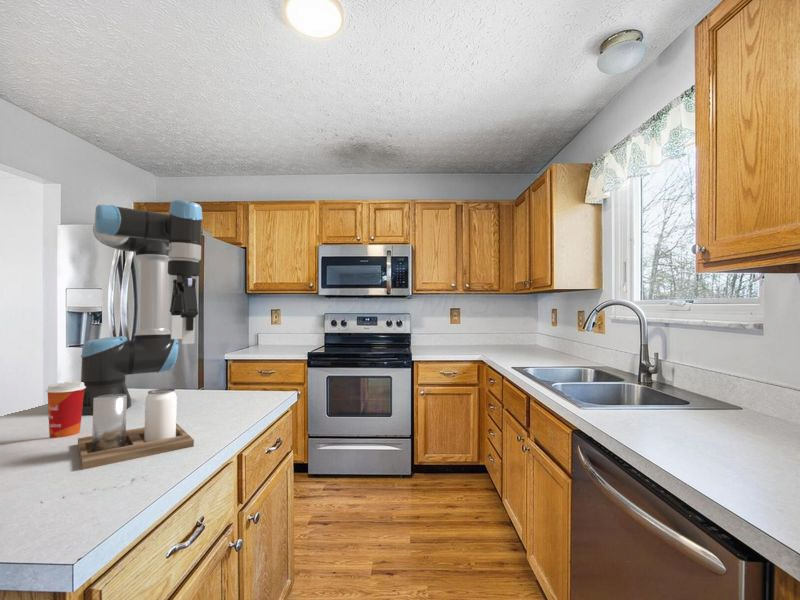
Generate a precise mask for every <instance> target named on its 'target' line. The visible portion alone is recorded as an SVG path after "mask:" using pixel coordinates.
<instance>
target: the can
mask: <svg viewBox="0 0 800 600" xmlns="http://www.w3.org/2000/svg"><path fill="white" fill-rule="evenodd" d="M175 391H176V389H175V388H157V389H151V390H149V391H147V396H146V398H145V403H144V405H145V407H144V408H145V409H144V427H145V434H144V441H145V442H151V441H156V440H161V439H166V438H172V437H176V423H177V407H178V406H177V405H178V402H177V401H178V397H177V394H176V392H175Z"/></svg>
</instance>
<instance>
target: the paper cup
mask: <svg viewBox="0 0 800 600" xmlns="http://www.w3.org/2000/svg"><path fill="white" fill-rule="evenodd" d="M85 388H86V386H85V385H84V382H81V381H71V382H70V381H65V382H56V383H52V384H49V385H48V387H47V389H46V391H45V392H46V393H47V409H48V411H47V413H48V415H47V416H48V432H49V433H48V435H49V438H53V439H56V438H57V439H58V438H59V439H60V438H67V437H72V436H75V435H77V434H80V433H81V424H82V417H83V415H82V408H83V398H84V389H85Z"/></svg>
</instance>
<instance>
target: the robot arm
mask: <svg viewBox="0 0 800 600" xmlns="http://www.w3.org/2000/svg"><path fill="white" fill-rule="evenodd" d="M203 217H204V216H203V209H202V206H201V205H200V204H199V203H196V202H193V201H189V200H172V201H170V204H169V210H168V213H164V212H163V213H162V212H155V211H148V210H141V209H135V208H129V207H123V206H116V205H112V204H111V205H107V204H98V205H96V206H95V213H94V224H93V225H92V232H93V235H94V237H95V238H96V240H97V241H99V242H100V243H101V244H103V245H104V246H107V247H109V248H112V249H115V250H119V251H124V252H132V253H133V252H134V253H135V258H136V259H137V260H138V262H140V283H139V284H140V285H139V286H140V290H139V293H140V294H139V298H140V299H139V329H138V330H137V332H135V333H134V335H133V339H131V340H129V339H128V338H127V336H124V335H120V336H119V335H118V336H110V337H102V338H97V339H92V340H87V341H86V342H84V343H83V345H82V348H81V349H82V350H81V355H80V358H81V367H80V368H81V372H80V374H81V375H80V382H84V385H85V386H86V388H85V389H84V398H83V408H82V416H88V415H90V416H93V401H94V398H95V397H98V396H103V395H109V394H126V395H127V409H129V408H130V407H131V406H132V397H131V395H130V392H129V390H128V387H127V384H126V378H127V377H126V376H129V375H139V374H140V375H141V374H142V375H143V374H153V373H157V374H158V373H159V374H160V373H162V372H169V371H171V370H173V368H175V364H176V363H177V360H178V355H179V354H178V353H179V349H180V346H179V340H181V345H191V344H192V345H193V344H195V342H196V340H195V339H196V338H195V336H196V316H198V314H199V311H198V301H197V291H196V282H197V281H196V278H193V277H200V276H201V266H202V265H201V262H199V261H201V260H202V231H203V229H202V226H203V225H202V223H203V219H204V218H203ZM170 276H176V279H173V280H172V284H173V285H172V293H171V294H172V295H171V299H170V298H169V294H170V293H169V290H170V289H169V286H170V285H169V283H170ZM169 299H170V301H169ZM169 302H170V308H169ZM169 312H170V314H171V323H170V324H171V325H170V329H169ZM128 407H129V408H128Z"/></svg>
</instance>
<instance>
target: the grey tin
mask: <svg viewBox="0 0 800 600" xmlns="http://www.w3.org/2000/svg"><path fill="white" fill-rule="evenodd" d="M127 409H128V408H127V395H126V394H109V395H103V396H98V397H95V398H94V401H93V415H92V431H91V432H92V435H91V436H92V452H98V451H103V450H108V449H113V448H119V447H124V446H125V444H126V430H127V411H128V410H127Z"/></svg>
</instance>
